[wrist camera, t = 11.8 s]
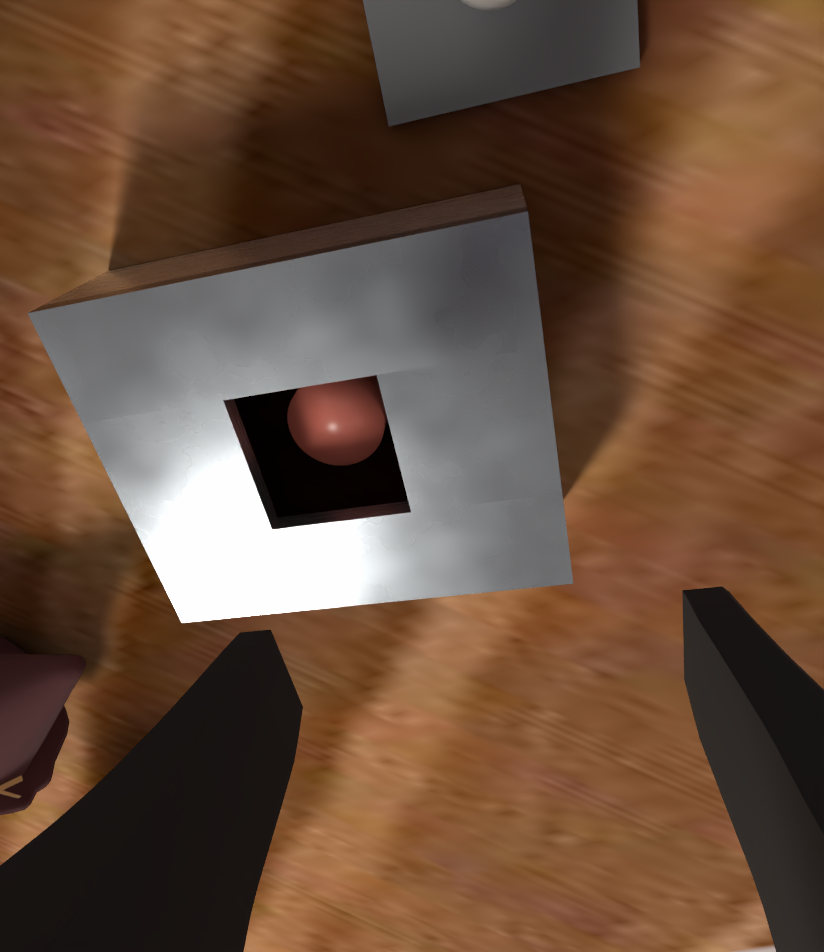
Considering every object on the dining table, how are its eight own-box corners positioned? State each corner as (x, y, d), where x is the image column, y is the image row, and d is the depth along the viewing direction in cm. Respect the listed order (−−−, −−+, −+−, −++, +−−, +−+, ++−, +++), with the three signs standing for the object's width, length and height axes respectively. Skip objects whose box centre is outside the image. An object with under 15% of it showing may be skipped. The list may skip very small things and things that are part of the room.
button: (379, 349, 20) (371, 369, 19) (399, 433, 21) (393, 458, 20) (288, 364, 20) (274, 385, 19) (314, 446, 22) (303, 471, 20)
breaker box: (520, 184, 18) (528, 211, 14) (560, 505, 22) (572, 583, 19) (107, 271, 20) (27, 313, 16) (224, 546, 25) (181, 622, 21)
